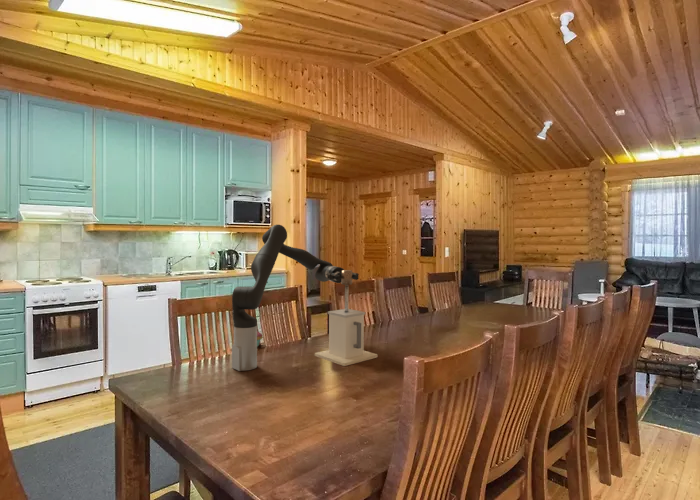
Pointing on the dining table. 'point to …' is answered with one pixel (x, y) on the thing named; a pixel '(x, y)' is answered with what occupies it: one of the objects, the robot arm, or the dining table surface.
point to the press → (346, 338)
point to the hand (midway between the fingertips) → (348, 277)
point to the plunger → (346, 284)
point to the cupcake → (259, 337)
